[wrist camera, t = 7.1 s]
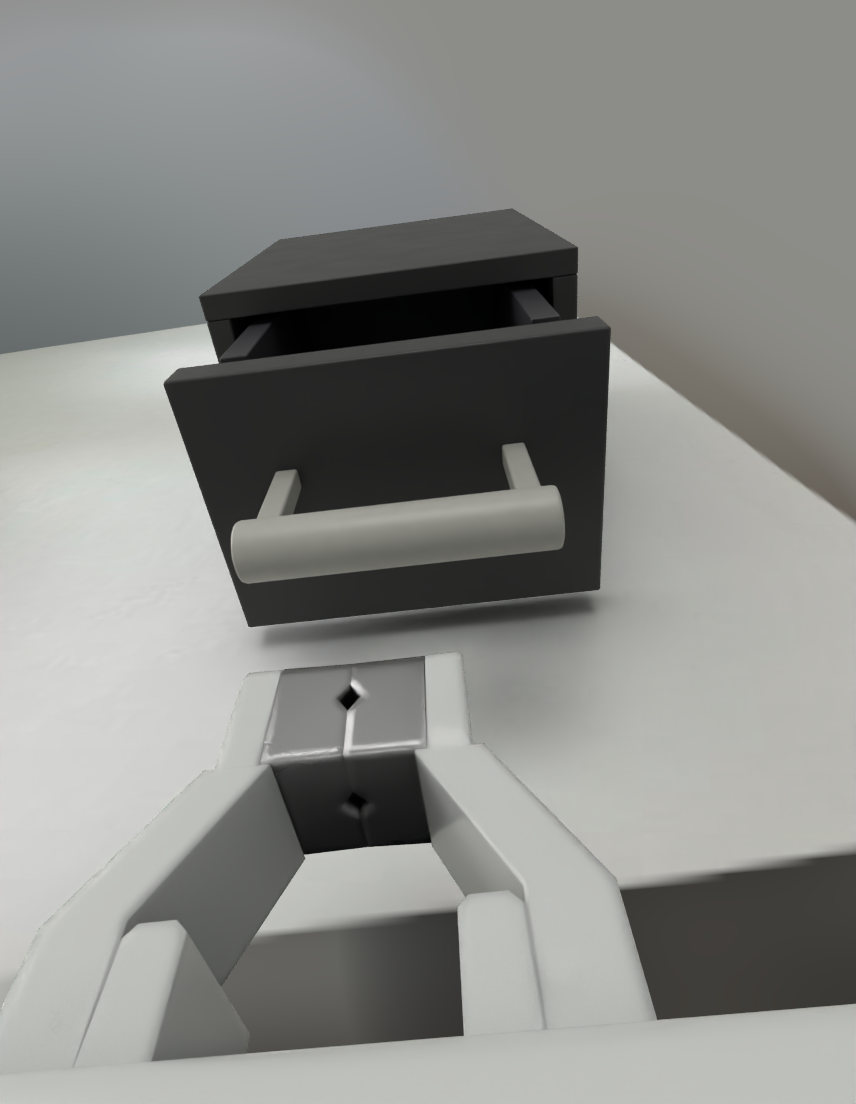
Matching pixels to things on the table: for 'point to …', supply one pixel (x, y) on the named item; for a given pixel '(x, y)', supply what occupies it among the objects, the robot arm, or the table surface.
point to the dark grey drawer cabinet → (394, 268)
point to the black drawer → (403, 453)
